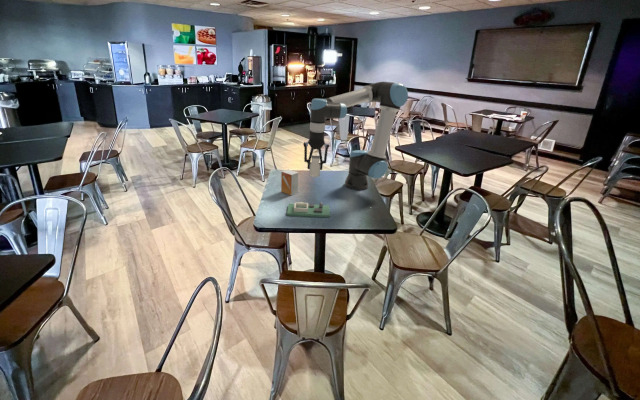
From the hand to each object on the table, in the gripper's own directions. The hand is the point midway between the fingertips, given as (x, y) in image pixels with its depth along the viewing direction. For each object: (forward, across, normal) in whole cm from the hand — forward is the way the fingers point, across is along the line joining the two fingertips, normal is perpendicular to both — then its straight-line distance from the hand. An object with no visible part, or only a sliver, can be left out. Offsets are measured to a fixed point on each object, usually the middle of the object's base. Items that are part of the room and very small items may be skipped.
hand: (314, 175), depth 170 cm
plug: (0, 0, 0) cm, 0 cm away
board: (+18, +2, +8) cm, 19 cm away
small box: (+18, +14, -17) cm, 28 cm away
